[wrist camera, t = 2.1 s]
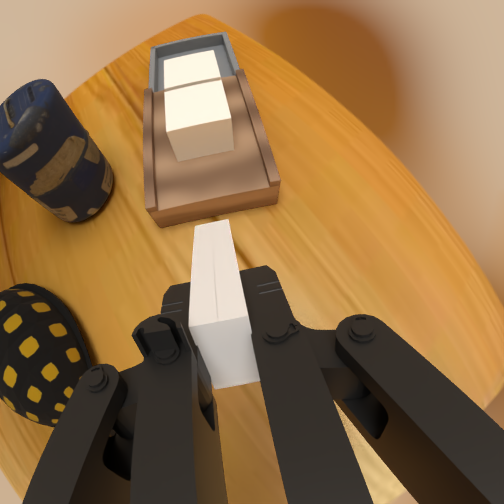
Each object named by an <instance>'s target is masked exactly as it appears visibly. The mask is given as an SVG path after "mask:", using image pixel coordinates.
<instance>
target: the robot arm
mask: <svg viewBox="0 0 504 504" xmlns="http://www.w3.org/2000/svg"><path fill="white" fill-rule="evenodd" d="M132 337H133V339H134V341H135V343H136V344H137V346H138V348H139V350H140V351H141V353H142V355H143V357H144V361H143V362H142V363H140V364H138V365H136V366H134V367H132V368H129V369H126V370H124V371H121V372H118V371H117V370H116V368H115V367H114V366H112V365H109V364H99V365H96V366H93V367H91V368H90V369H89V370H87V371H86V372H85V373H84V374H83V376H82V377H81V378H80V380H79V382H78V384H77V385H76V387H75V389H74V391H73V393H72V395H71V397H70V398H69V400H68V402H67V404H66V406H65V408H64V410H63V412H62V414H61V416H60V418H59V420H58V422H57V424H56V426H55V428H54V430H53V432H52V434H51V436H50V438H49V441H48V443H47V445H46V447H45V449H44V451H43V454H42V456H41V458H40V461H39V463H38V465H37V468H36V470H35V472H34V475H33V477H32V480H31V482H30V485H29V487H28V490H27V492H26V495H25V498H24V500H23V503H22V504H228V500H227V493H226V486H225V478H224V470H223V462H222V453H221V444H220V435H219V425H218V415H217V404H216V401H215V398H214V396H213V394H212V385H211V382H212V384H213V386H214V389H220V388H226V387H231V386H237V385H242V384H247V383H252V382H257V381H260V382H261V387H262V391H263V396H264V401H265V405H266V410H267V414H268V419H269V423H270V428H271V432H272V437H273V441H274V446H275V450H276V454H277V459H278V463H279V467H280V472H281V476H282V480H283V484H284V489H285V493H286V497H287V501H288V504H373V501H372V498H371V496H370V493H369V490H368V488H367V485H366V482H365V480H364V477H363V475H362V472H361V469H360V467H359V464H358V462H357V459H356V457H355V454H354V451H353V449H352V446H351V444H350V441H349V439H348V436H347V434H346V431H345V429H344V426H343V424H342V421H341V419H340V416H339V414H338V411H337V409H336V406H335V404H334V401H335V402H336V403H337V404H338V406H339V407H340V408H341V410H342V411H343V412H344V413H345V415H346V416H347V417H348V418H349V420H350V421H351V422H352V423H353V425H354V426H355V427H356V428H357V430H358V431H359V432H360V433H361V435H362V436H363V437H364V438H365V440H366V441H367V442H368V443H369V445H370V446H371V447H372V448H373V449H374V451H375V452H376V453H377V454H378V456H379V457H380V458H381V459H382V460H383V462H384V463H385V464H386V465H387V467H388V468H389V469H390V470H391V471H392V473H393V474H394V475H395V476H396V477H397V479H398V480H399V481H400V482H401V483H402V485H403V486H404V487H405V488H406V489H407V490H408V492H409V493H410V494H411V495H412V496H413V497H414V499H415V500H416V501H417V502H418V503H419V504H504V430H503V429H502V428H501V427H500V426H499V425H498V424H497V423H496V422H495V421H494V420H493V419H491V418H490V417H489V416H488V415H487V414H486V413H485V412H484V411H483V410H482V409H481V408H480V407H479V406H478V405H477V404H475V403H474V402H473V401H472V400H471V399H470V398H469V397H468V396H467V395H466V394H465V393H463V392H462V391H461V390H460V389H459V388H458V387H457V386H456V385H455V384H454V383H452V382H451V381H450V380H449V379H448V378H447V377H446V376H445V375H443V374H442V373H441V372H440V371H439V370H438V369H437V368H436V367H434V366H433V365H432V364H431V363H430V362H429V361H428V360H427V359H425V358H424V357H423V356H422V355H421V354H420V353H419V352H417V351H416V350H415V349H414V348H413V347H412V346H410V345H409V344H408V343H407V342H406V341H405V340H404V339H402V338H401V337H400V336H399V335H398V334H397V333H395V332H394V331H393V330H392V329H391V328H389V327H388V326H387V325H386V324H385V323H384V322H382V321H381V320H379V319H378V318H376V317H374V316H370V315H366V314H359V315H353V316H350V317H346V318H345V319H344V320H342V321H341V322H340V323H339V325H338V327H337V328H336V330H314V329H310V328H307V327H305V326H303V325H301V324H300V323H299V322H298V321H297V320H296V319H295V318H294V316H293V314H292V311H291V309H290V306H289V304H288V301H287V299H286V297H285V294H284V292H283V289H282V287H281V284H280V282H279V280H278V277H277V275H276V272H275V271H274V270H272V269H271V268H270V267H268V266H267V265H265V266H261V267H256V268H251V269H246V270H242V271H239V269H238V264H237V259H236V254H235V249H234V244H233V240H232V235H231V230H230V225H229V220H228V219H226V220H221V221H216V222H212V223H207V224H202V225H197V226H195V233H194V244H193V257H192V271H191V282H188V283H183V284H178V285H172V286H170V287H169V289H168V290H167V291H166V293H165V294H164V297H163V302H162V308H161V314H158V315H155V316H152V317H149V318H147V319H146V320H144V321H142V322H141V323H140V324H139V325H138V326H137V327H136V328H135V329H134V331H133V333H132ZM333 400H334V401H333Z"/></svg>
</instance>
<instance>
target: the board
mask: <svg viewBox="0 0 504 504" xmlns="http://www.w3.org/2000/svg"><path fill="white" fill-rule="evenodd" d="M221 80H222V84H223V88H224V92H225V95H226V99H227V103H228V107H229V111H230V115H231V120H232V131H233V142H234V150H232V151H226V152H221V153H216V154H211V155H207V156H202V157H197V158H193V159H188V160H184V161H180V162H178V161H177V158H176V156H175V153H174V151H173V148H172V146H171V143H170V140H169V138H168V135H167V133H166V118H165V94H164V92H165V90H162V91H158V92H155V93H153V90H152V88H148V89H145V90H144V114H143V164H144V191H145V209H146V210H147V211H148V213H149V214H150V215H151V217H152V218H153V219H154V220H155V222H156V223H157V224H158V226H159V227H160V228H163V227H167V226H172V225H176V224H180V223H185V222H189V221H194V220H198V219H203V218H208V217H212V216H217V215H222V214H227V213H232V212H237V211H241V210H246V209H252V208H257V207H262V206H267V205H272V204H277V200H278V194H279V188H280V181H281V180H280V176H279V173H278V170H277V167H276V164H275V160H274V157H273V154H272V151H271V148H270V145H269V142H268V139H267V136H266V133H265V130H264V127H263V124H262V121H261V118H260V115H259V112H258V109H257V106H256V103H255V100H254V98H253V95H252V92H251V89H250V86H249V84H248V81H247V78H246V75H245V73H244V70H243V69H238V70H236V76H229V77H223V78H221Z"/></svg>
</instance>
